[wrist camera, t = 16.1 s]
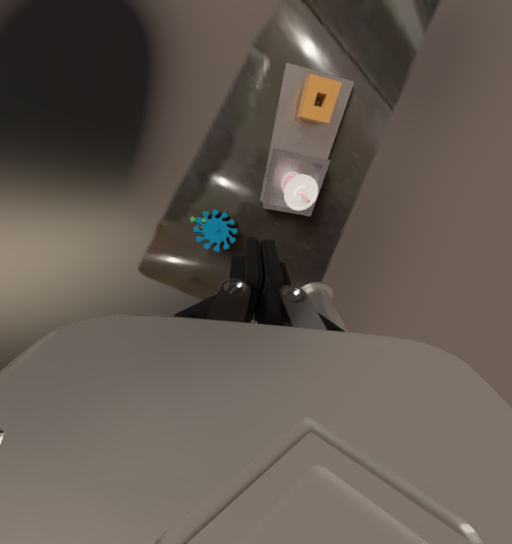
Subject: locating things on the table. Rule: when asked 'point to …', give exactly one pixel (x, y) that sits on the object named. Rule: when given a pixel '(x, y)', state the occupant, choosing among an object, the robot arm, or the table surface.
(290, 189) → the beverage cup
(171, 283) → the table surface
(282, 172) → the gray tray
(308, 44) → the table surface
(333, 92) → the amber wooden brick
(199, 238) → the blue lobed piece
